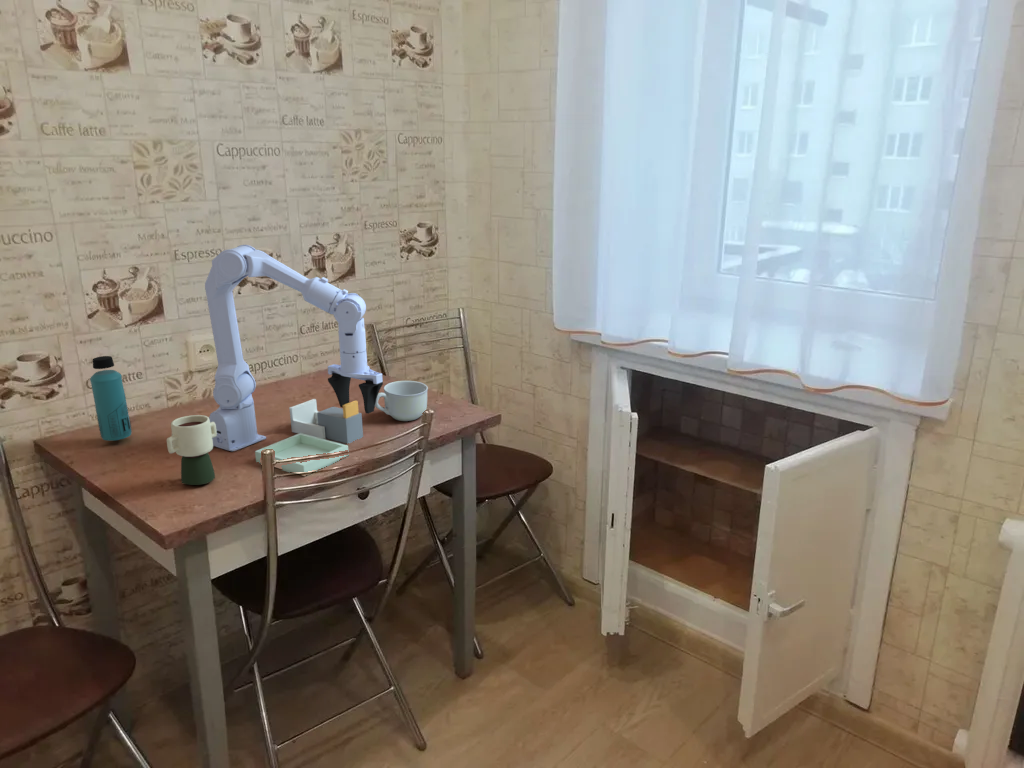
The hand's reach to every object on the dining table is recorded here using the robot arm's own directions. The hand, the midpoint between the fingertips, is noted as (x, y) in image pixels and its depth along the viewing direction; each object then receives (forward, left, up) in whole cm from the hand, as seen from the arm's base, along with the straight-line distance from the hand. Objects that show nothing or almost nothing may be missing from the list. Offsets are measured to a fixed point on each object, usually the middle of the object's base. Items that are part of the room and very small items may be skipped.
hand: (357, 409), depth 165 cm
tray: (-14, +3, -8) cm, 16 cm away
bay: (0, +12, -8) cm, 14 cm away
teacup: (+17, +2, -8) cm, 19 cm away
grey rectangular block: (0, +6, -8) cm, 10 cm away
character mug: (-33, +12, -8) cm, 36 cm away
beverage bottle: (-29, +47, -8) cm, 56 cm away
